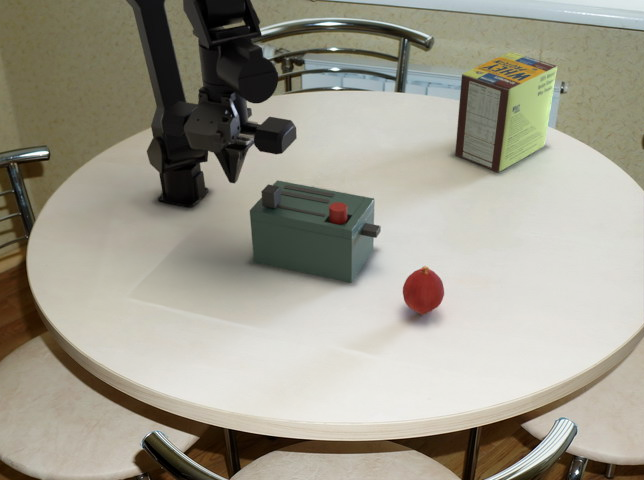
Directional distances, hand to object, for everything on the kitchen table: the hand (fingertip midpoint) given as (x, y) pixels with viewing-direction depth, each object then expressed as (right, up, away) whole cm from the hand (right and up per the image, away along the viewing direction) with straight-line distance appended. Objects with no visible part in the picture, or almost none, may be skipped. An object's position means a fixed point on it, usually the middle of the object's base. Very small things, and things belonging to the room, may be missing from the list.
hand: (233, 182), depth 126 cm
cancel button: (+16, -6, -2) cm, 17 cm away
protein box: (+45, +14, +36) cm, 59 cm away
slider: (+6, -3, 0) cm, 6 cm away
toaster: (+13, -10, +6) cm, 17 cm away
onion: (+28, -20, -4) cm, 34 cm away
